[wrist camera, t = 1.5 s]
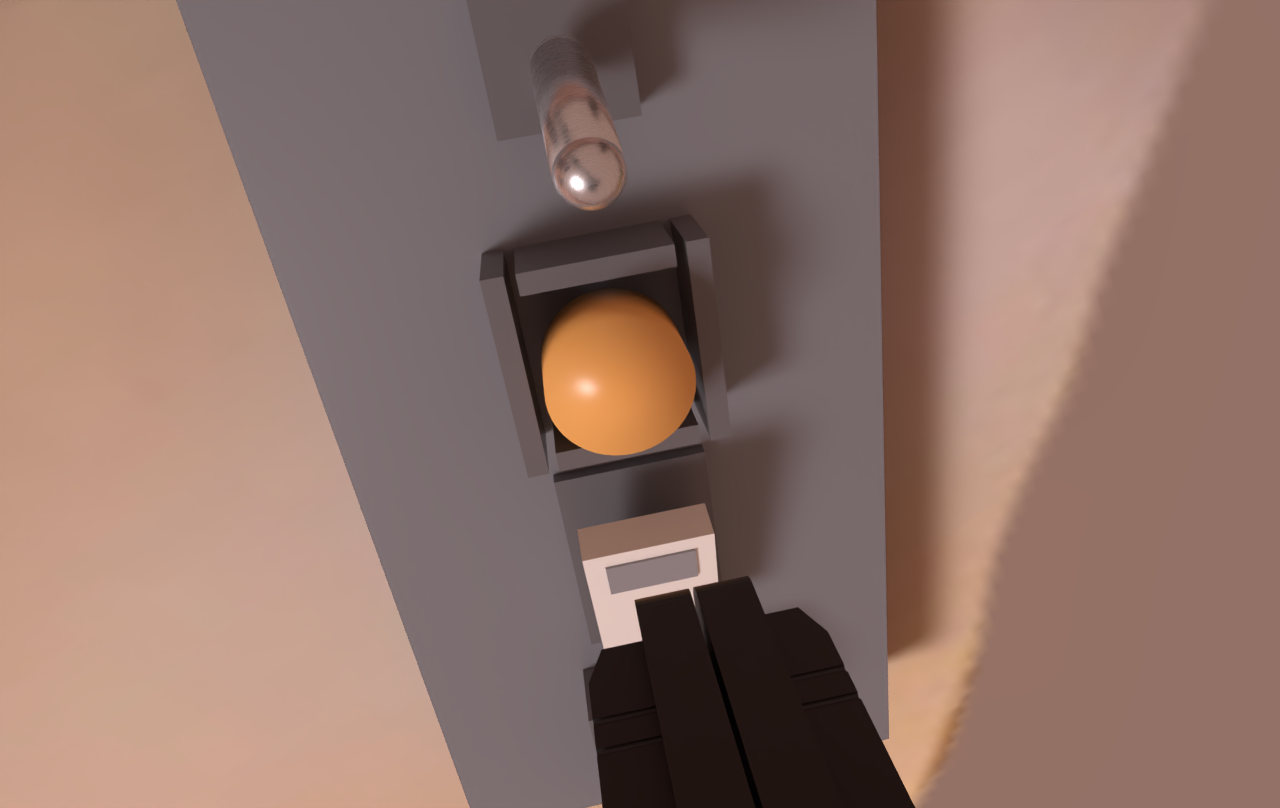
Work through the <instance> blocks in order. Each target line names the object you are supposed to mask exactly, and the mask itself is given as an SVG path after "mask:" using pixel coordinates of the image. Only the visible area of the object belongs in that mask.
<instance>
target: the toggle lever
mask: <svg viewBox="0 0 1280 808" xmlns="http://www.w3.org/2000/svg"><path fill="white" fill-rule="evenodd" d="M529 70H530V78H531V82H532V87H533V92H534V96H535V101H536V106H537V111H538V115H539V120H540V125H541V129H542V134H543V139H544V144H545V148H546V153H547V158H548V163H549V167H550V172H551V177H552V181H553V184H554V187H555V189H556V191H557V192H558V194H559V195H560V197H561V198H562V199H563V200H564V201H565V202H566V203H568V204H569V205H570V206H573V207H575V208H577V209H580V210H584V211H596V210H600V209H603V208H605V207H608V206H609V205H611V204H612V203H613V202H614V201H615V200H616V199H617V198H618V197H619V196H620V194H621V193H622V192H623V189H624V187H625V184H626V180H627V164H626V160H625V157H624V154H623V151H622V148H621V145H620V142H619V139H618V136H617V133H616V130H615V126H614V123H613V120H612V117H611V114H610V111H609V108H608V105H607V102H606V99H605V96H604V93H603V90H602V87H601V84H600V81H599V78H598V75H597V72H596V69H595V66H594V63H593V60H592V57H591V55H590V53H589V51H588V50H587V48H586V47H585V46H584V45H583V44H582V43H581V42H580V41H578V40H577V39H575V38H573V37H571V36H568V35H554V36H550V37H548V38H546V39H544V40H543V41H542V42H540V43H539V44H538V46H537V47H536V48H535V50H534V52H533V54H532V56H531V59H530V66H529Z"/></svg>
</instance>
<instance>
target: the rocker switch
mask: <svg viewBox="0 0 1280 808" xmlns="http://www.w3.org/2000/svg"><path fill="white" fill-rule="evenodd" d="M577 531H578V538H579V544H580V551H581V557H582V563H583V567H584V571H585V575H586V579H587V583H588V587H589V591H590V595H591V599H592V603H593V607H594V611H595V615H596V619H597V623H598V627H599V631H600V636H601V640H602V644H603V648H604V649H606V648H611V647H616V646H620V645H625V644H630V643H634V642H639V641H642V637H641V632H640V627H639V622H638V617H637V612H636V606H635V601H634V600H636V599H641V598H645V597H650V596H655V595H659V594H664V593H669V592H674V591H678V590H683V589H688V588H689V590H690V592H691V595H692V598H693V602H694V595H693V587H696V586H701V585H706V584H710V583H715V582H718V573H717V560H716V548H715V535H714V531H713V528H712V524H711V521H710V518H709V515H708V512H707V509H706V505H705V503H702V504H697V505H693V506H688V507H683V508H678V509H673V510H669V511H664V512H659V513H654V514H649V515H644V516H640V517H635V518H630V519H625V520H620V521H616V522H611V523H606V524H601V525H596V526H591V527H587V528H582V529H577ZM694 605H695V603H694Z"/></svg>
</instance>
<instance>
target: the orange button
mask: <svg viewBox="0 0 1280 808" xmlns="http://www.w3.org/2000/svg"><path fill="white" fill-rule="evenodd" d="M541 365H542V375H543V386H544V396H545V402H546V406H547V410H548V413H549V415H550V417H551V419H552V421H553V423H554V424H555V426H556V427H557V428H558V430H559V431H560V432H561V433H562V434H563V435H564V436H565V437H566V438H567V439H569V440H570V441H571V442H573V443H574V444H576V445H577V446H579V447H581V448H583V449H585V450H588V451H591V452H594V453H598V454H603V455H628V454H634V453H638V452H641V451H644V450H647V449H649V448H652V447H654V446H656V445H657V444H659V443H661V442H662V441H664V440H665V439H667V438H668V437H669V436H670V435H671V434H673V433H674V432H675V431H676V430H677V428H678V427H679V426H680V425H681V424H682V422H683V421H684V420H685V418H686V416H687V415H688V413H689V411H690V409H691V406H692V403H693V401H694V396H695V392H696V373H695V368H694V364H693V362H692V359H691V356H690V354H689V352H688V350H687V348H686V346H685V344H684V342H683V340H682V338H681V336H680V334H679V332H678V330H677V328H676V326H675V324H674V322H673V320H672V319H671V317H670V316H669V314H668V313H667V312H666V311H665V310H664V309H663V308H662V307H661V306H660V305H659V304H658V303H657V302H655V301H654V300H653V299H651V298H649V297H647V296H646V295H643V294H641V293H639V292H636V291H632V290H628V289H620V288H607V289H600V290H596V291H592V292H589V293H586V294H584V295H581V296H579V297H578V298H576V299H574V300H572V301H571V302H570V303H568V304H567V305H566V306H564V307H563V308H562V309H561V310H560V311H559V312H558V313H557V315H556V316H555V317H554V318H553V320H552V321H551V323H550V325H549V326H548V328H547V331H546V333H545V335H544V339H543V342H542V348H541Z"/></svg>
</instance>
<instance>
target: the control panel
mask: <svg viewBox="0 0 1280 808" xmlns="http://www.w3.org/2000/svg"><path fill="white" fill-rule="evenodd" d="M176 1H177V4H178V7H179V10H180V12H181V15H182V18H183V21H184V23H185V26H186V29H187V32H188V34H189V37H190V40H191V42H192V45H193V48H194V51H195V53H196V56H197V59H198V62H199V64H200V67H201V70H202V73H203V75H204V78H205V81H206V84H207V86H208V89H209V92H210V95H211V97H212V100H213V103H214V106H215V108H216V111H217V114H218V117H219V119H220V122H221V125H222V128H223V130H224V133H225V136H226V139H227V141H228V144H229V147H230V150H231V152H232V155H233V158H234V161H235V163H236V166H237V169H238V172H239V174H240V177H241V180H242V183H243V185H244V188H245V191H246V194H247V196H248V199H249V202H250V205H251V207H252V210H253V213H254V216H255V218H256V221H257V224H258V227H259V229H260V232H261V235H262V238H263V240H264V243H265V246H266V249H267V251H268V254H269V257H270V260H271V262H272V265H273V268H274V271H275V273H276V276H277V279H278V282H279V284H280V287H281V290H282V293H283V295H284V298H285V301H286V304H287V306H288V309H289V312H290V315H291V317H292V320H293V323H294V326H295V328H296V331H297V334H298V337H299V339H300V342H301V345H302V348H303V350H304V353H305V356H306V359H307V361H308V364H309V367H310V369H311V372H312V375H313V378H314V380H315V383H316V386H317V389H318V391H319V394H320V397H321V400H322V402H323V405H324V408H325V411H326V413H327V416H328V419H329V422H330V424H331V427H332V430H333V433H334V435H335V438H336V441H337V444H338V446H339V449H340V452H341V455H342V457H343V460H344V463H345V466H346V468H347V471H348V474H349V477H350V479H351V482H352V485H353V488H354V490H355V493H356V496H357V499H358V501H359V504H360V507H361V510H362V512H363V515H364V518H365V521H366V523H367V526H368V529H369V532H370V534H371V537H372V540H373V543H374V545H375V548H376V551H377V554H378V556H379V559H380V562H381V565H382V567H383V570H384V573H385V576H386V578H387V581H388V584H389V587H390V589H391V592H392V595H393V598H394V600H395V603H396V606H397V609H398V611H399V614H400V617H401V620H402V622H403V625H404V628H405V631H406V633H407V636H408V639H409V642H410V644H411V647H412V650H413V653H414V655H415V658H416V661H417V664H418V666H419V669H420V672H421V675H422V677H423V680H424V683H425V686H426V688H427V691H428V694H429V696H430V699H431V702H432V705H433V707H434V710H435V713H436V716H437V718H438V721H439V724H440V727H441V729H442V732H443V735H444V738H445V740H446V743H447V746H448V749H449V751H450V754H451V757H452V760H453V762H454V765H455V768H456V771H457V773H458V776H459V779H460V782H461V784H462V787H463V790H464V793H465V795H466V798H467V801H468V804H469V806H470V808H586V807H590V806H595V805H599V804H602V798H601V789H600V780H599V771H598V763H597V752H596V745H595V736H594V728H593V727H594V724H593V719H592V710H591V701H590V693H589V681H590V678H591V676H592V673H593V670H594V668H595V665H596V663H597V660H598V657H599V655H600V652H601V649H604V648H603V644H602V640H601V636H600V631H599V627H598V623H597V619H596V615H595V611H594V607H593V603H592V599H591V595H590V591H589V587H588V583H587V579H586V575H585V571H584V567H583V563H582V557H581V551H580V544H579V538H578V531H577V529H582V528H587V527H591V526H596V525H601V524H606V523H611V522H616V521H620V520H625V519H630V518H635V517H640V516H644V515H649V514H654V513H659V512H664V511H669V510H673V509H678V508H683V507H688V506H693V505H697V504H702V503H705V505H706V509H707V512H708V515H709V518H710V521H711V524H712V528H713V531H714V535H715V548H716V560H717V573H718V582H720V581H725V580H729V579H734V578H739V577H743V576H749V578H750V579H751V581H752V583H753V586H754V588H755V591H756V593H757V596H758V598H759V601H760V603H761V605H762V608H763V610H764V613H765V614H768V613H773V612H778V611H782V610H787V609H792V608H796V607H799V608H800V609H801V610H802V611H804V612H805V613H806V614H807V615H808V616H810V617H811V618H812V619H813V620H814V621H816V622H817V623H818V624H819V625H821V626H822V627H823V628H824V629H825V630H827V631H828V633H829V635H830V637H831V639H832V641H833V643H834V645H835V647H836V649H837V651H838V653H839V655H840V657H841V659H842V661H843V663H844V667H845V670H846V671H848V673H849V675H850V677H851V679H852V681H853V683H854V685H855V687H856V689H857V691H858V696H859V699H862V701H863V703H864V706H865V708H866V710H867V712H868V714H869V716H870V718H871V720H872V722H873V724H874V726H875V728H876V730H877V732H878V734H879V736H880V738H881V740H885V739H889V715H888V657H887V599H886V541H885V483H884V425H883V366H882V308H881V250H880V192H879V134H878V75H877V17H876V0H176ZM554 35H568V36H571V37H573V38H575V39H577V40H578V41H580V42H581V43H582V44H583V45H584V46H585V47H586V48H587V50H588V51H589V53H590V55H591V57H592V60H593V63H594V66H595V69H596V72H597V75H598V78H599V81H600V84H601V87H602V90H603V93H604V96H605V99H606V102H607V105H608V108H609V111H610V114H611V117H612V120H613V123H614V126H615V130H616V133H617V136H618V139H619V142H620V145H621V148H622V151H623V154H624V157H625V160H626V164H627V180H626V184H625V187H624V189H623V192H622V193H621V194H620V196H619V197H618V198H617V199H616V200H615V201H614V202H613V203H612V204H611V205H609V206H608V207H605V208H603V209H600V210H596V211H584V210H580V209H577V208H575V207H573V206H570V205H569V204H568V203H566V202H565V201H564V200H563V199H562V198H561V197H560V195H559V194H558V192H557V191H556V189H555V187H554V184H553V181H552V177H551V172H550V167H549V163H548V158H547V153H546V148H545V144H544V139H543V134H542V129H541V125H540V120H539V115H538V111H537V106H536V101H535V96H534V92H533V87H532V82H531V78H530V70H529V66H530V59H531V56H532V54H533V52H534V50H535V48H536V47H537V46H538V44H539V43H540V42H542V41H543V40H544V39H546V38H548V37H550V36H554ZM607 288H620V289H628V290H632V291H636V292H639V293H641V294H643V295H646V296H647V297H649V298H651V299H653V300H654V301H655V302H657V303H658V304H659V305H660V306H661V307H662V308H663V309H664V310H665V311H666V312H667V313H668V314H669V316H670V317H671V319H672V320H673V322H674V324H675V326H676V328H677V330H678V332H679V334H680V336H681V338H682V340H683V342H684V344H685V346H686V348H687V350H688V352H689V354H690V356H691V359H692V362H693V364H694V368H695V373H696V392H695V396H694V401H693V403H692V406H691V409H690V411H689V413H688V415H687V416H686V418H685V420H684V421H683V422H682V424H681V425H680V426H679V427H678V428H677V430H676V431H675V432H674V433H673V434H671V435H670V436H669V437H668V438H667V439H665V440H664V441H662V442H661V443H659V444H657V445H656V446H654V447H652V448H649V449H647V450H644V451H641V452H638V453H634V454H628V455H603V454H598V453H594V452H591V451H588V450H585V449H583V448H581V447H579V446H577V445H576V444H574V443H573V442H571V441H570V440H569V439H567V438H566V437H565V436H564V435H563V434H562V433H561V432H560V431H559V430H558V428H557V427H556V426H555V424H554V423H553V421H552V419H551V417H550V415H549V413H548V410H547V406H546V402H545V396H544V386H543V375H542V365H541V348H542V342H543V339H544V335H545V333H546V331H547V328H548V326H549V325H550V323H551V321H552V320H553V318H554V317H555V316H556V315H557V313H558V312H559V311H560V310H561V309H562V308H563V307H564V306H566V305H567V304H568V303H570V302H571V301H572V300H574V299H576V298H578V297H579V296H581V295H584V294H586V293H589V292H592V291H596V290H600V289H607Z"/></svg>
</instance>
